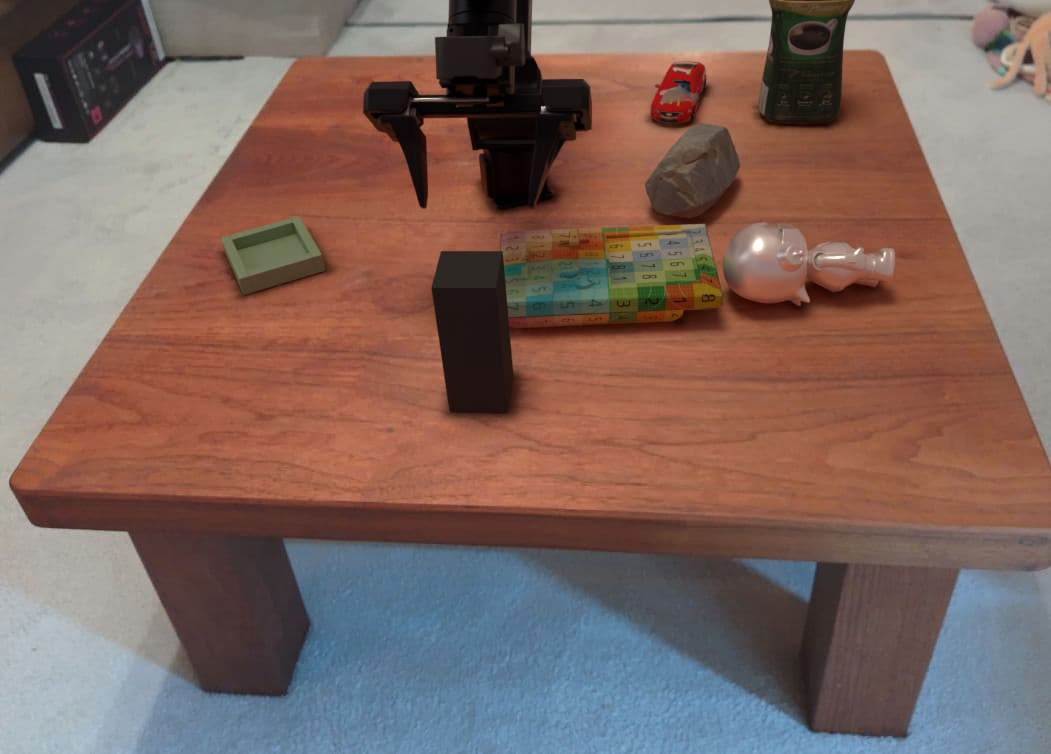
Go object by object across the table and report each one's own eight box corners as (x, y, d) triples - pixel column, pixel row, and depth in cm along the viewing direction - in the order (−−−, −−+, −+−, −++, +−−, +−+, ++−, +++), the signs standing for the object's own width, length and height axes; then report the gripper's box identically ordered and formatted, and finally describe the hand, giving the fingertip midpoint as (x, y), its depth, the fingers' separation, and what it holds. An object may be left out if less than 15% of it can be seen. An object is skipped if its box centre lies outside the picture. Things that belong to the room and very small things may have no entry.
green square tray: (303, 231, 108) (299, 215, 107) (325, 270, 102) (322, 254, 101) (225, 253, 106) (220, 237, 104) (243, 295, 100) (238, 279, 98)
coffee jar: (835, 98, 124) (859, -58, 112) (841, 128, 118) (867, -33, 106) (755, 97, 126) (771, -57, 114) (757, 126, 120) (773, -32, 108)
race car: (689, 131, 120) (691, 100, 118) (645, 126, 122) (645, 95, 119) (711, 83, 129) (713, 53, 127) (670, 79, 131) (671, 49, 128)
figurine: (911, 223, 88) (746, 204, 87) (906, 306, 88) (740, 289, 86) (859, 246, 99) (711, 230, 97) (855, 321, 98) (705, 306, 97)
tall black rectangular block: (457, 373, 89) (440, 250, 80) (513, 374, 88) (502, 250, 80) (449, 412, 85) (431, 287, 77) (507, 413, 85) (496, 287, 76)
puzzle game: (499, 225, 98) (706, 215, 97) (503, 265, 101) (703, 256, 100) (496, 297, 89) (723, 287, 88) (500, 338, 92) (720, 329, 91)
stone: (678, 165, 114) (681, 101, 109) (746, 178, 111) (753, 113, 106) (634, 219, 106) (635, 152, 101) (707, 235, 103) (711, 167, 98)
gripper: (347, -15, 78) (340, 183, 77) (588, -21, 76) (583, 183, 75) (383, 41, 89) (377, 215, 88) (594, 37, 87) (590, 215, 86)
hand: (477, 207), depth 84 cm, fingers open, 9 cm apart
